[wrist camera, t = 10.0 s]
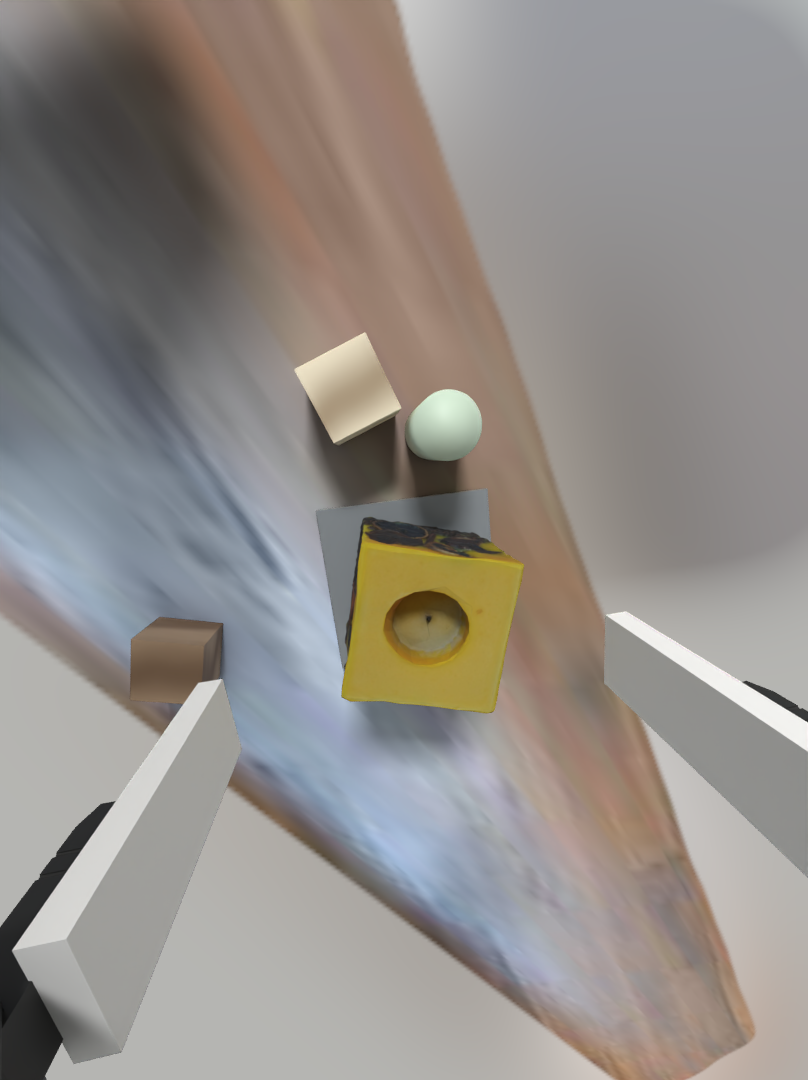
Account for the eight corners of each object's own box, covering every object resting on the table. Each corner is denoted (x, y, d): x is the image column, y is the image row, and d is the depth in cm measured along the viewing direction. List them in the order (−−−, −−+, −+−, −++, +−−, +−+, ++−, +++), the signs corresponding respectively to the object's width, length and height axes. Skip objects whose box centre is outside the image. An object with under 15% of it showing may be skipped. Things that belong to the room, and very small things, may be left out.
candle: (458, 642, 33) (497, 718, 24) (345, 631, 32) (337, 706, 22) (481, 531, 31) (533, 564, 22) (361, 514, 30) (359, 541, 20)
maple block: (306, 384, 28) (294, 369, 23) (364, 353, 28) (365, 332, 23) (338, 445, 29) (333, 443, 24) (395, 416, 29) (401, 408, 24)
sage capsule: (401, 406, 29) (411, 393, 23) (456, 400, 29) (479, 386, 24) (407, 463, 30) (418, 464, 24) (461, 456, 30) (484, 456, 25)
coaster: (316, 510, 30) (315, 510, 30) (485, 488, 31) (487, 488, 31) (343, 664, 33) (342, 668, 33) (495, 640, 34) (497, 643, 34)
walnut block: (160, 616, 31) (131, 639, 27) (223, 622, 32) (203, 645, 28) (158, 670, 32) (130, 700, 28) (220, 675, 32) (200, 705, 29)
